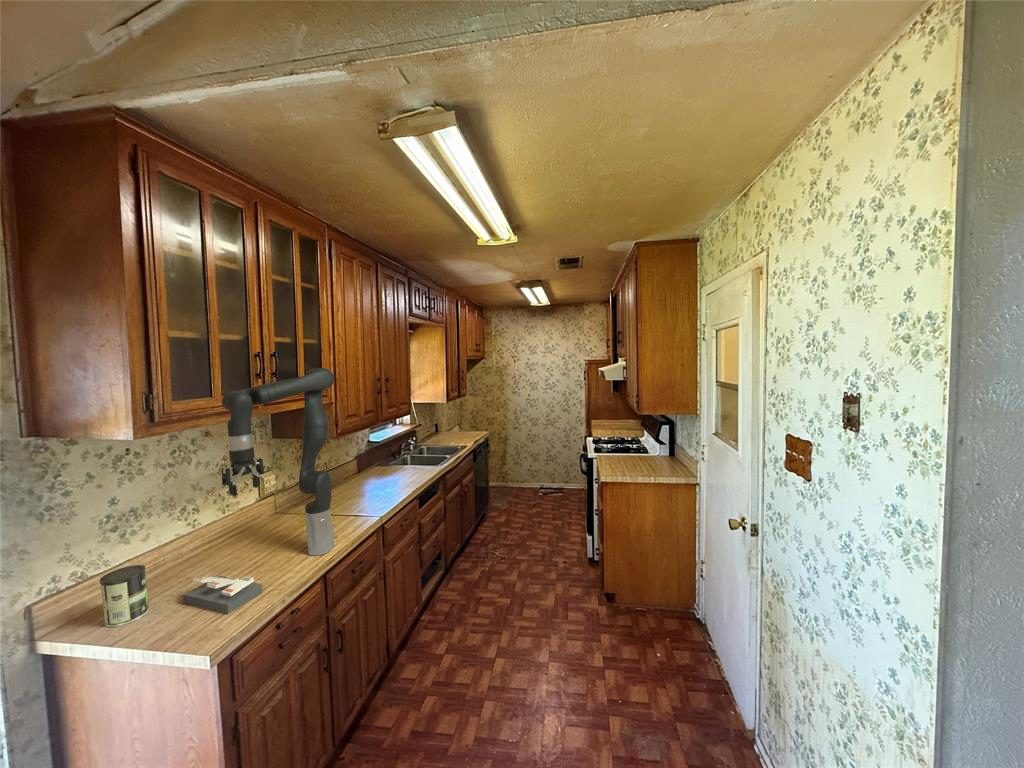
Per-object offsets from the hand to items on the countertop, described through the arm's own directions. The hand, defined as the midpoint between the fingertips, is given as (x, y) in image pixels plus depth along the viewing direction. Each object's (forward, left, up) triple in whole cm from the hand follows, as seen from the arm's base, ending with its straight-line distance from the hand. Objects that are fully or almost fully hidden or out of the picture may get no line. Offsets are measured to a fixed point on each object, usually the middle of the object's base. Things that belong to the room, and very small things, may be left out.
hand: (245, 491), depth 147 cm
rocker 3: (+13, +10, -27) cm, 32 cm away
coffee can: (+29, -17, -32) cm, 46 cm away
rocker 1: (+13, -4, -27) cm, 30 cm away
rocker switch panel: (+13, +3, -32) cm, 34 cm away
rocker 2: (+13, +3, -27) cm, 30 cm away
